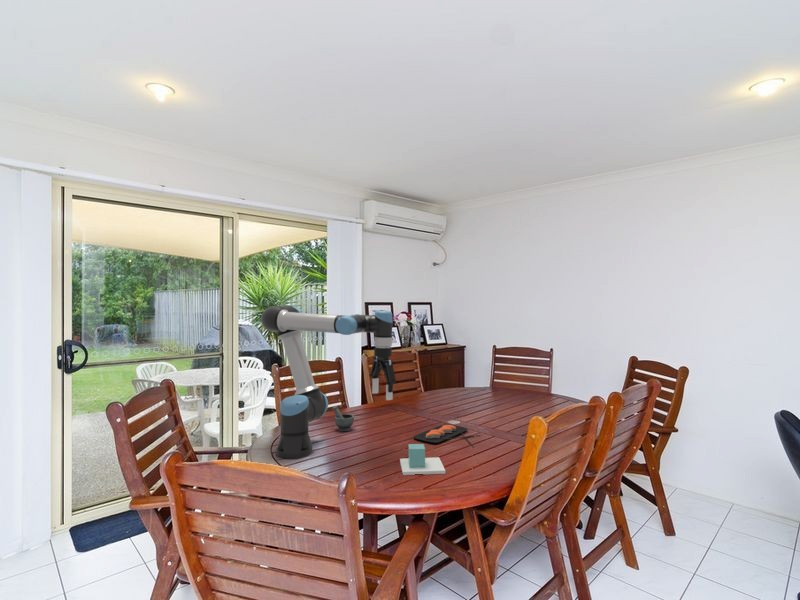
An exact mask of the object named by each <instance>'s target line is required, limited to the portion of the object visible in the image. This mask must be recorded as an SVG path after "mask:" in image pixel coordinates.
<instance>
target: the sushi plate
mask: <svg viewBox="0 0 800 600" xmlns="http://www.w3.org/2000/svg"><path fill="white" fill-rule="evenodd" d="M467 431H468V428H467V427H464V426H460V425H455V424H449V423H446V424H445V423H444V424H441V425H439V426H436V427H432V428H430V429H428V430H425V431H422V432H420V433H417V434H415V435H413V437H412V438H413V439H415V440H419V441H421V442H427V443H432V444H438V443H442V442H444V441H446V440H455V439H465V440H466V442H467V443H468V444H469V445H470V446H471V447H472V448H473V449H474V448H475V446H474V445H473V444H472V443H471V441H470V440H469V439H468V438H474V436H476V437H480V435H481V434H477V435H469V436H467V435H466V436H465V435H464V433H465V432H467ZM460 434H461V435H462V436H459V437H457V436H458V435H460ZM455 436H456V437H455Z"/></svg>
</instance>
